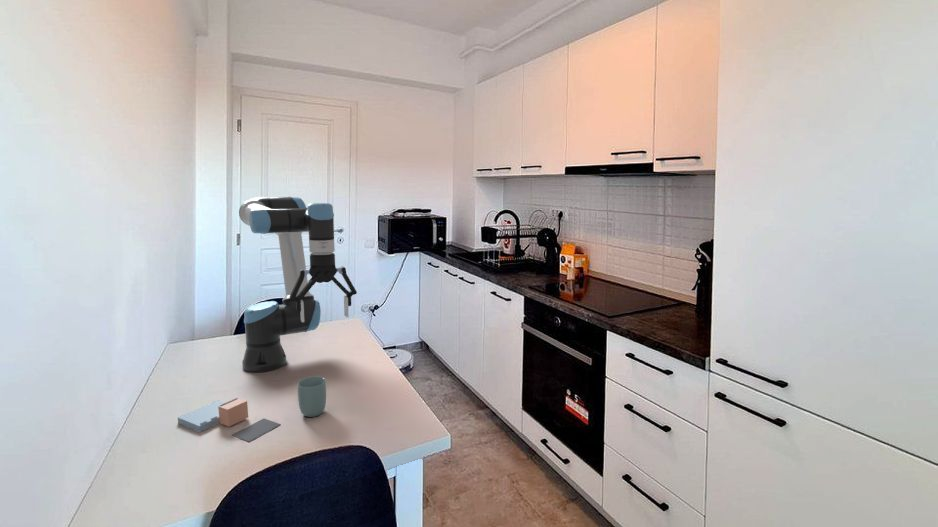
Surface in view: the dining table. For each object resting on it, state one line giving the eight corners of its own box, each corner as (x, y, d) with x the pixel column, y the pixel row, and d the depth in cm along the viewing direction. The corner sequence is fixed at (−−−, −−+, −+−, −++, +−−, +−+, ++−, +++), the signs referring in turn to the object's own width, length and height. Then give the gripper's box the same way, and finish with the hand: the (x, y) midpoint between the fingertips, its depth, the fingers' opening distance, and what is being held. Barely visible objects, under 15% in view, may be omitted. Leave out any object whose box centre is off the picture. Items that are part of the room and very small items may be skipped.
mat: (231, 435, 120) (231, 434, 120) (263, 419, 129) (263, 418, 129) (249, 442, 117) (248, 441, 117) (280, 424, 125) (280, 424, 125)
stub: (219, 423, 125) (218, 405, 124) (239, 413, 130) (237, 397, 130) (228, 426, 123) (227, 408, 122) (248, 417, 129) (247, 400, 128)
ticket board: (178, 423, 126) (177, 416, 125) (218, 405, 136) (218, 399, 136) (200, 432, 121) (199, 425, 121) (240, 413, 132) (239, 406, 131)
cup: (303, 407, 135) (301, 376, 134) (329, 406, 136) (328, 375, 134) (295, 420, 128) (293, 387, 126) (323, 419, 128) (322, 386, 127)
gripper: (280, 256, 131) (284, 326, 135) (364, 252, 142) (366, 316, 146) (278, 253, 138) (282, 320, 141) (359, 249, 149) (360, 311, 152)
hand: (325, 318), depth 143 cm, fingers open, 13 cm apart
